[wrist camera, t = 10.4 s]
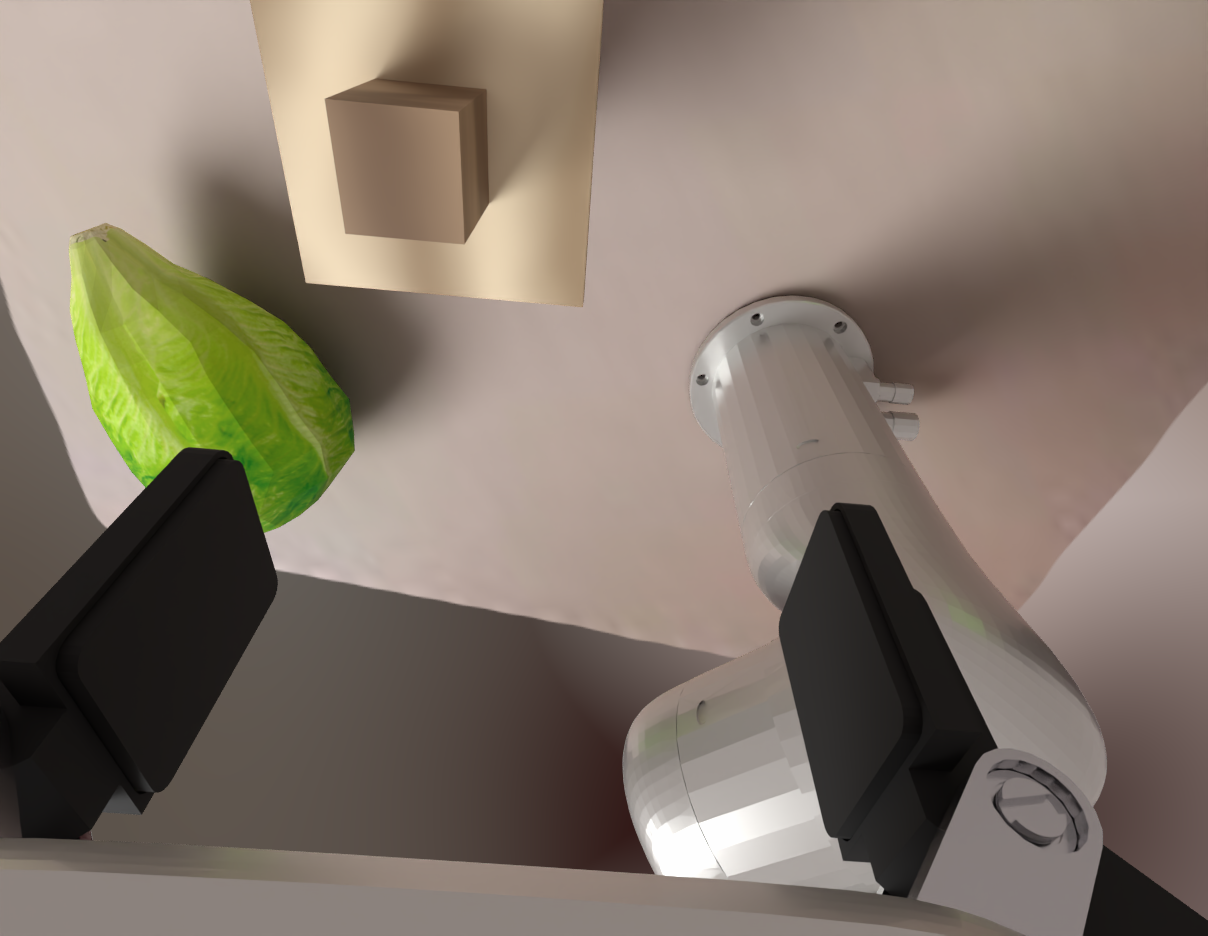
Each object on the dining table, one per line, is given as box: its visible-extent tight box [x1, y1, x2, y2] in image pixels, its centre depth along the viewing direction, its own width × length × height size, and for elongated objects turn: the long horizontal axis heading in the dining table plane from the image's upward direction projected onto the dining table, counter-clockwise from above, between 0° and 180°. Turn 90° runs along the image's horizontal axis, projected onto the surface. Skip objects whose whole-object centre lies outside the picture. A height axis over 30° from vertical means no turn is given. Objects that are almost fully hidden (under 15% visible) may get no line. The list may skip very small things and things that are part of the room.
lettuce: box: [69, 223, 355, 533], centre depth 41 cm, size 14×20×12 cm
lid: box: [250, 0, 604, 307], centre depth 23 cm, size 12×12×6 cm
